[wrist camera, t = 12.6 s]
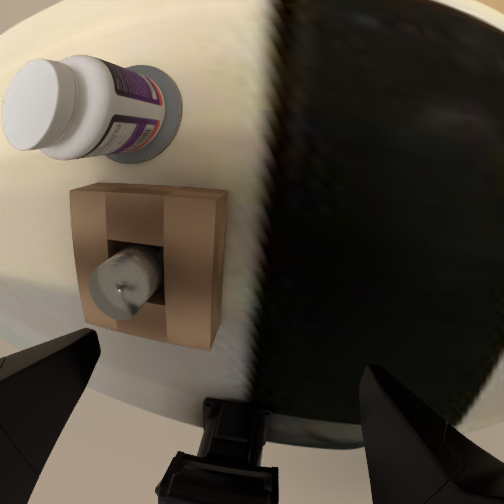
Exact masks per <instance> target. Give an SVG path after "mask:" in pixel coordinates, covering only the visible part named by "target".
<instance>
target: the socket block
mask: <svg viewBox="0 0 504 504" xmlns="http://www.w3.org/2000/svg"><path fill="white" fill-rule="evenodd" d="M227 201H228V191H225V190H214V189H202V188H189V187H175V186H159V185H141V184H118V183H95V184H92V185H88V186H84V187H81V188H77V189H74V190H70V211H71V226H72V238H73V248H74V256H75V264H76V272H77V278H78V285H79V291H80V297H81V302H82V308H83V313H84V318H85V322H86V323H89V324H92V325H96V326H99V327H103V328H107V329H111V330H114V331H118V332H122V333H126V334H130V335H135V336H139V337H143V338H147V339H152V340H156V341H161V342H166V343H171V344H175V345H180V346H186V347H191V348H196V349H202V350H208V351H210V350H211V347H212V344H213V341H214V339H215V336H216V333H217V331H218V328H219V325H220V316H221V296H222V278H223V260H224V244H225V229H226V215H227ZM131 243H140V244H148V245H156V246H163V247H164V281H163V283H162V284H161V285H160V286H159V287H158V288H157V290H156V291H155V292H154V293H153V294H152V296H151V297H150V298H149V299H148V300H147V302H146V303H145V304H144V305H143V306H142V308H141V309H140V310H139V311H138V312H137V314H136V315H135V316H134V317H132V318H131V319H128V320H116V319H113V318H111V317H109V316H107V315H106V314H104V313H103V312H102V311H101V310H100V309H99V308H98V307H97V306H96V304H95V303H94V301H93V299H92V297H91V295H90V291H89V278H90V275H91V273H92V272H93V270H94V269H95V268H97V267H98V266H100V265H101V264H102V263H104V262H105V261H106V260H108V259H109V258H111V257H112V256H113V255H115V254H116V253H118V252H119V251H121V250H122V249H123V248H125V247H126V246H128V245H129V244H131Z"/></svg>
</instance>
